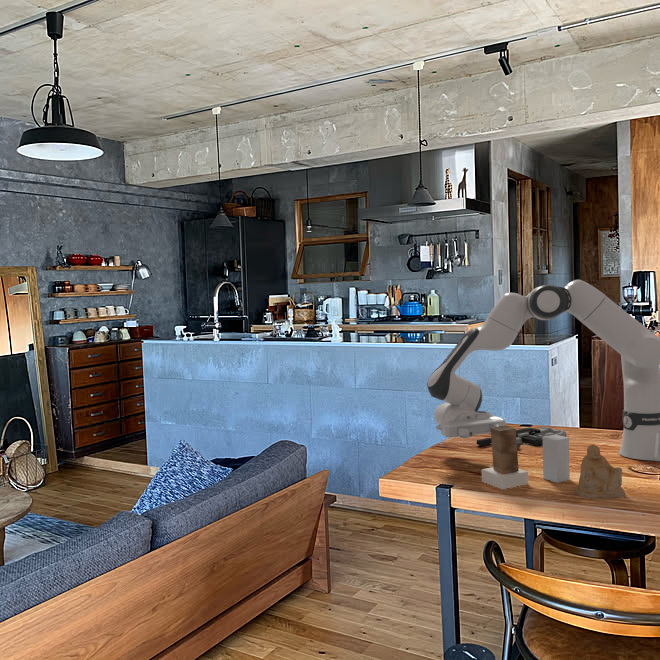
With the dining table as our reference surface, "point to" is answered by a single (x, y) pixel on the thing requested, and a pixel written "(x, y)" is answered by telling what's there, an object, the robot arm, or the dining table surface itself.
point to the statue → (599, 477)
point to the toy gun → (529, 436)
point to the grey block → (556, 458)
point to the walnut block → (504, 449)
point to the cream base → (504, 478)
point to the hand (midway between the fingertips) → (484, 432)
